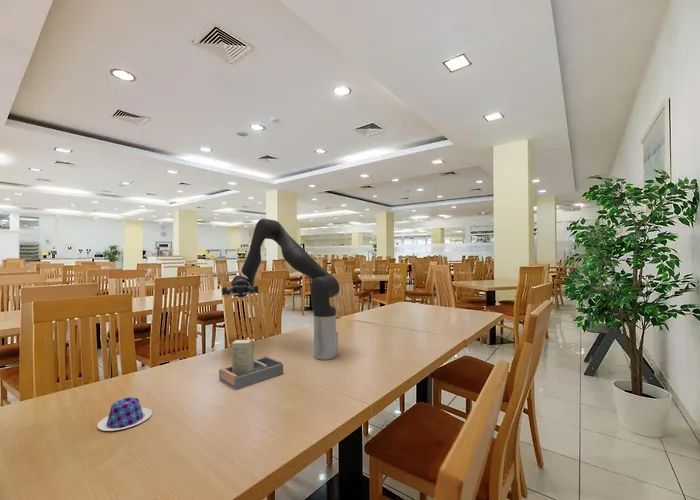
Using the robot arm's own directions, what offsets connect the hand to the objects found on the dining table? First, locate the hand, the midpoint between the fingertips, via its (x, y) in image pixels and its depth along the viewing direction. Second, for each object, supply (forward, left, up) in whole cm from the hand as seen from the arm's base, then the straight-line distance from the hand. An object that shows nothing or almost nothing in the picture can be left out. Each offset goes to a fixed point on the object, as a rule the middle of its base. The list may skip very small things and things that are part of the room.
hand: (239, 292), depth 132 cm
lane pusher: (+2, +17, -27) cm, 32 cm away
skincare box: (+8, +17, -27) cm, 33 cm away
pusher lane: (+5, +17, -28) cm, 33 cm away
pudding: (+43, +19, -29) cm, 55 cm away
